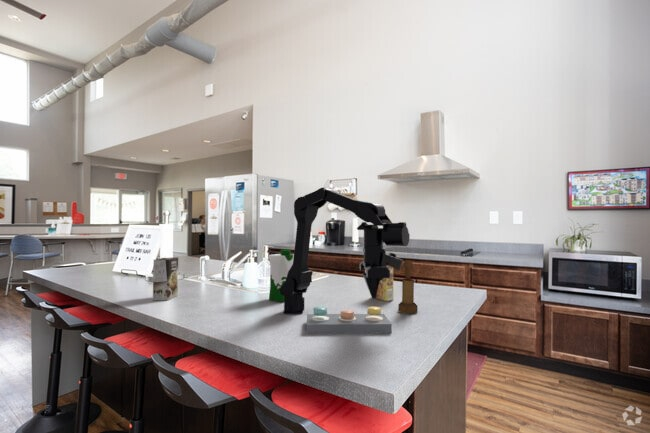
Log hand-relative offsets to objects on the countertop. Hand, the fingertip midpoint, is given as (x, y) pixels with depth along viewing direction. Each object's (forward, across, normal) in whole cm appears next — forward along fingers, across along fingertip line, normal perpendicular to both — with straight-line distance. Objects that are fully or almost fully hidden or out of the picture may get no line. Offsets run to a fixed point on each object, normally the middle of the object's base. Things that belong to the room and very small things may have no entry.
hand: (373, 297), depth 103 cm
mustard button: (+5, 0, 0) cm, 5 cm away
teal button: (+5, 0, +16) cm, 17 cm away
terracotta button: (+6, 0, +8) cm, 10 cm away
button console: (+9, 0, +8) cm, 12 cm away
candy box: (+9, +38, -10) cm, 41 cm away
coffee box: (+8, +40, +78) cm, 88 cm away
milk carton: (+8, +37, +31) cm, 49 cm away
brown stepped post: (+9, +18, -15) cm, 25 cm away
